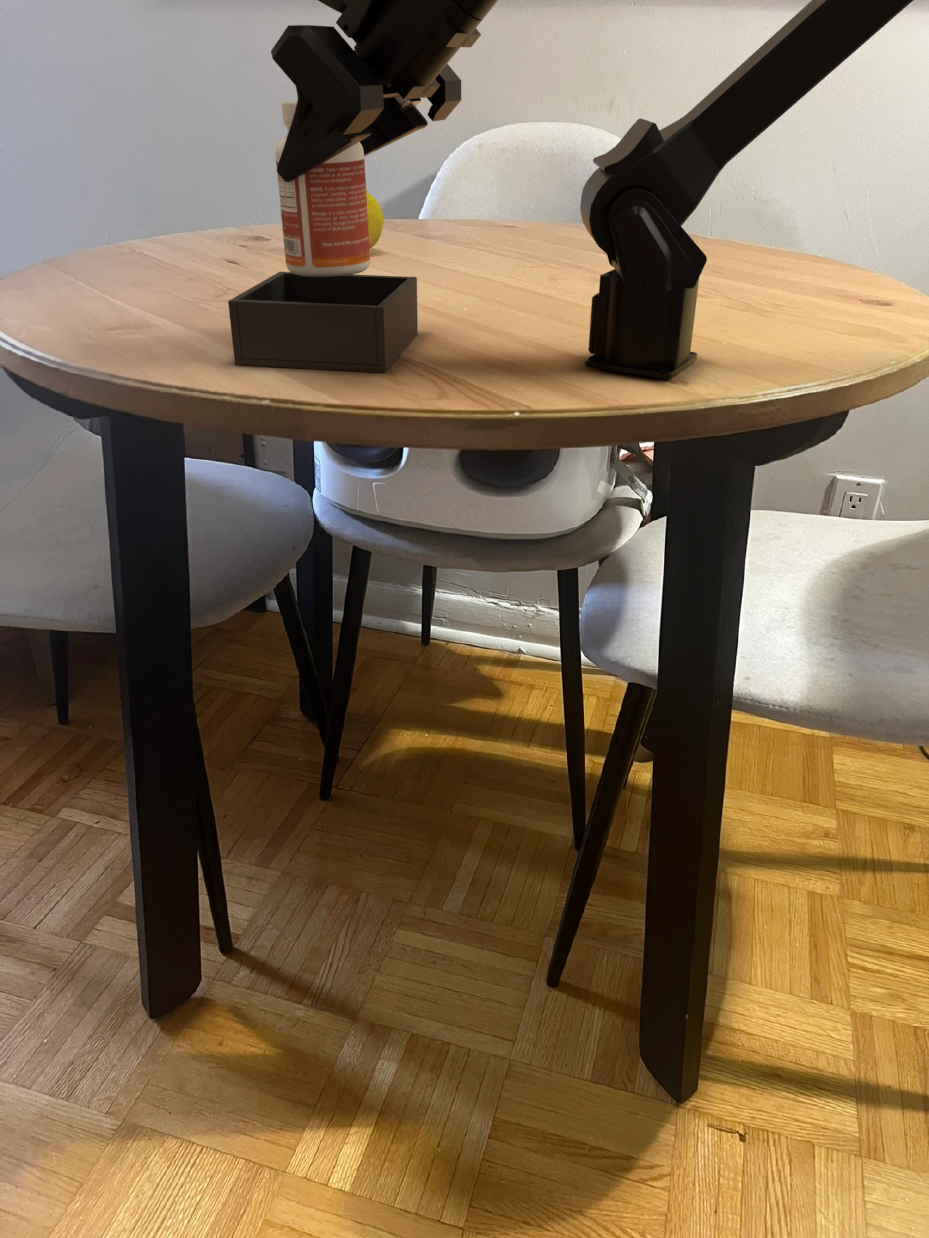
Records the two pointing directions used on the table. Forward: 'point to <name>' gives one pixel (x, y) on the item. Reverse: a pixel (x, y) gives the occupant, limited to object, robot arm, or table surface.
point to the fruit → (374, 219)
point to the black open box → (325, 322)
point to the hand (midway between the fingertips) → (304, 172)
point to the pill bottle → (325, 213)
